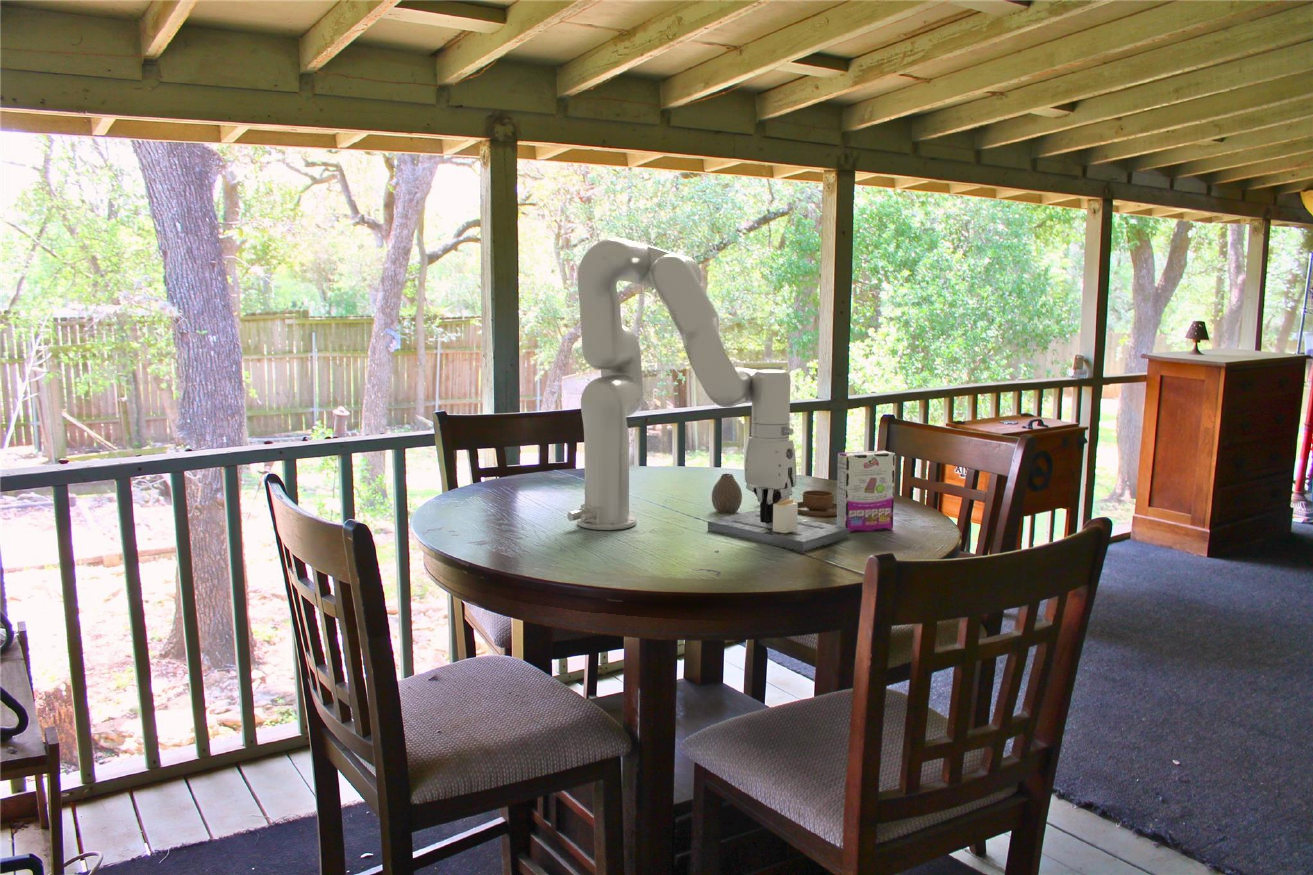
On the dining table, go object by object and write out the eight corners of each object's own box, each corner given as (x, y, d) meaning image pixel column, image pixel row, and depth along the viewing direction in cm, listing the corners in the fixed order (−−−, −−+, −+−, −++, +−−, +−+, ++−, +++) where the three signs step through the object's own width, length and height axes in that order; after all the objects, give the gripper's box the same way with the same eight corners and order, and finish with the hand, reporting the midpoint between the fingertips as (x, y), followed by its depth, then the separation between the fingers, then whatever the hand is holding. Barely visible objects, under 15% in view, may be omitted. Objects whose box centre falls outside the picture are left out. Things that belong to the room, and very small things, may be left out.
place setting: (799, 522, 200) (799, 496, 200) (752, 505, 218) (753, 481, 218) (863, 515, 208) (864, 490, 207) (813, 499, 226) (814, 476, 225)
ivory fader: (784, 533, 178) (785, 503, 177) (772, 530, 180) (773, 500, 179) (797, 529, 181) (798, 500, 180) (784, 527, 183) (785, 497, 182)
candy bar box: (881, 524, 196) (884, 449, 194) (893, 530, 191) (896, 453, 189) (834, 527, 193) (836, 451, 191) (845, 533, 188) (848, 455, 186)
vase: (739, 516, 204) (740, 477, 203) (709, 514, 205) (710, 476, 204) (743, 509, 211) (744, 472, 209) (713, 508, 212) (714, 471, 211)
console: (803, 551, 173) (803, 541, 173) (707, 530, 190) (707, 520, 189) (848, 537, 185) (849, 527, 184) (755, 518, 201) (755, 509, 201)
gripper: (812, 433, 179) (809, 524, 181) (752, 426, 189) (750, 513, 191) (789, 437, 173) (787, 531, 176) (729, 429, 183) (727, 518, 186)
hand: (768, 521), depth 183 cm, fingers closed
